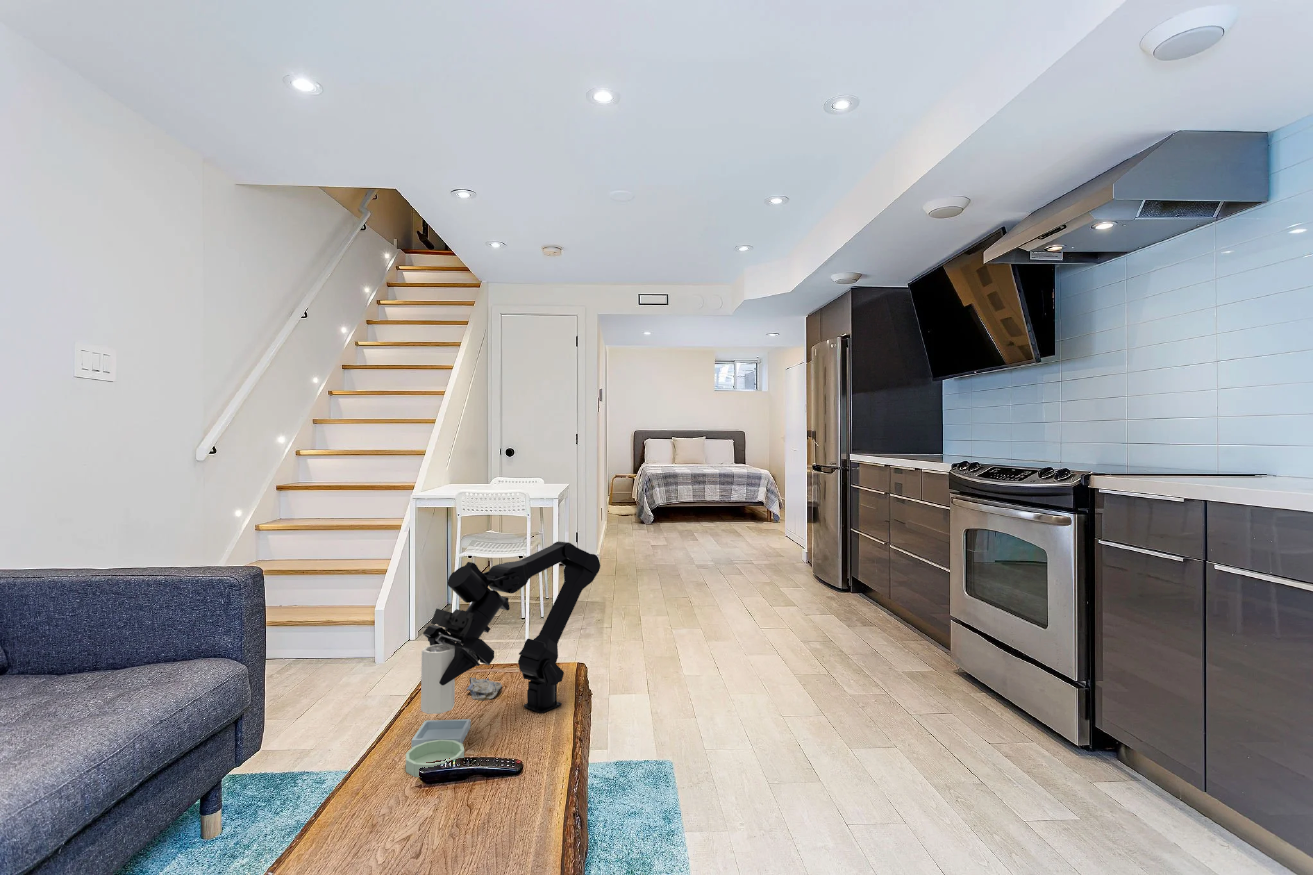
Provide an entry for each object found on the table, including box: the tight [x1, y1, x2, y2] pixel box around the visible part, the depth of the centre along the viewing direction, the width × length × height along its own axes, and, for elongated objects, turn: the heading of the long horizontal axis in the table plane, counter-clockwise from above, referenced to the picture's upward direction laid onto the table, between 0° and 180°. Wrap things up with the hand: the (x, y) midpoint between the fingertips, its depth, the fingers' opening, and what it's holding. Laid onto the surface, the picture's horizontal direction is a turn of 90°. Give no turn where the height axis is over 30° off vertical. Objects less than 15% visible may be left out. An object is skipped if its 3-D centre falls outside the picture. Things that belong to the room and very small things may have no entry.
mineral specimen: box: [466, 677, 503, 701], centre depth 162 cm, size 15×8×4 cm, turn 10°
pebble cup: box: [420, 644, 456, 715], centre depth 131 cm, size 6×6×12 cm
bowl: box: [405, 740, 465, 778], centre depth 123 cm, size 10×10×3 cm
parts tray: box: [410, 718, 472, 749], centre depth 134 cm, size 10×10×2 cm
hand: (432, 680), depth 130 cm, fingers closed on pebble cup, 6 cm apart
